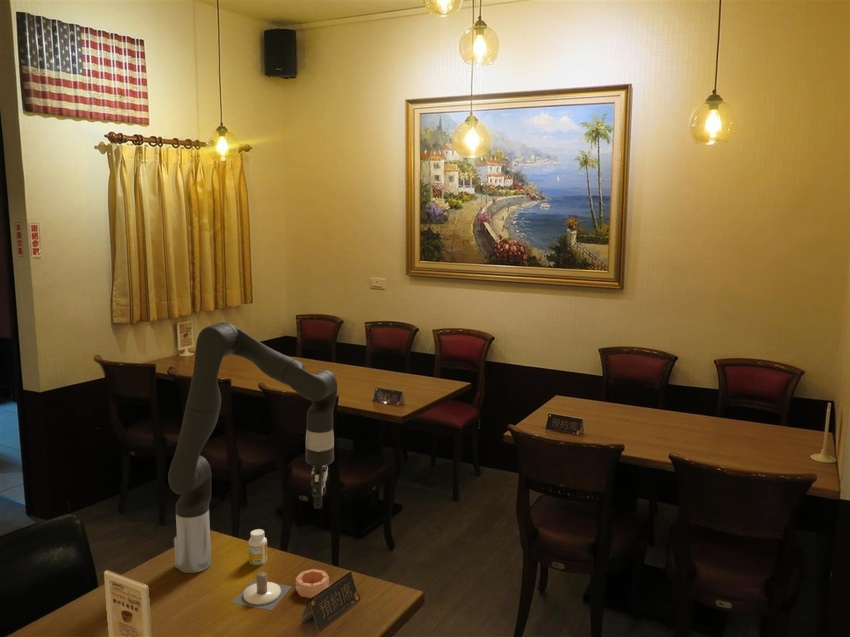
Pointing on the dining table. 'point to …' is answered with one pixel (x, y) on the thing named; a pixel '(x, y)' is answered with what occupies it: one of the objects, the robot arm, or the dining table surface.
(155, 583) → the dining table surface
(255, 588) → the lid
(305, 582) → the bowl
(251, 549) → the supplement bottle
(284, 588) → the mat
